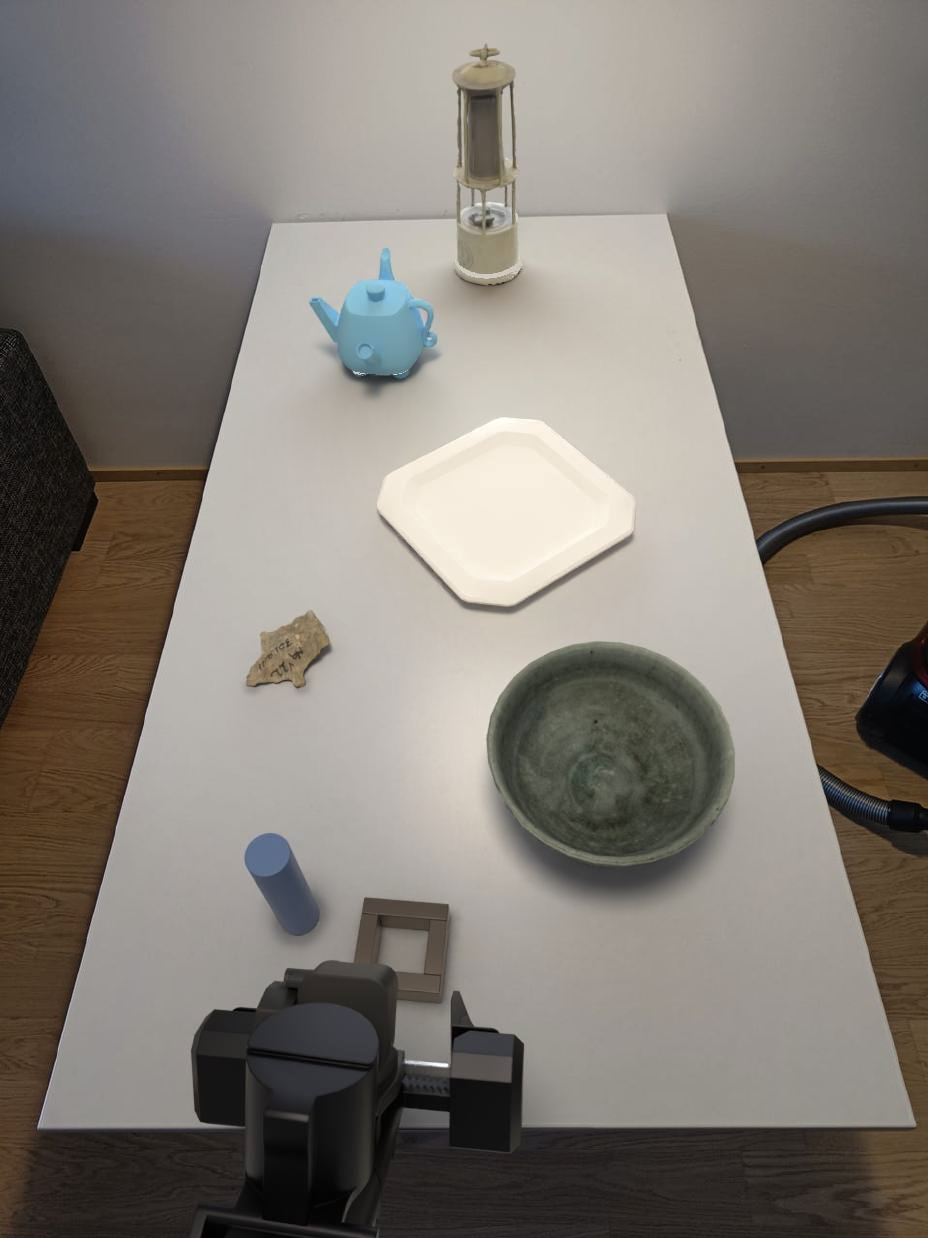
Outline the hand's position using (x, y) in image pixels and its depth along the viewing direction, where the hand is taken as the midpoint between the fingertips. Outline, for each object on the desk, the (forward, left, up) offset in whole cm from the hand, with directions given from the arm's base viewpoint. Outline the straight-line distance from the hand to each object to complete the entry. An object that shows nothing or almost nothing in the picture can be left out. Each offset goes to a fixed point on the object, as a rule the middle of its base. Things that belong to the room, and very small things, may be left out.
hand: (387, 991), depth 58 cm
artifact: (+31, +24, -14) cm, 42 cm away
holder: (+6, +2, -14) cm, 16 cm away
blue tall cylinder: (+7, +12, -14) cm, 20 cm away
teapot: (+81, +33, -14) cm, 88 cm away
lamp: (+108, +25, -14) cm, 112 cm away
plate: (+57, +8, -14) cm, 59 cm away
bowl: (+25, -10, -14) cm, 31 cm away
